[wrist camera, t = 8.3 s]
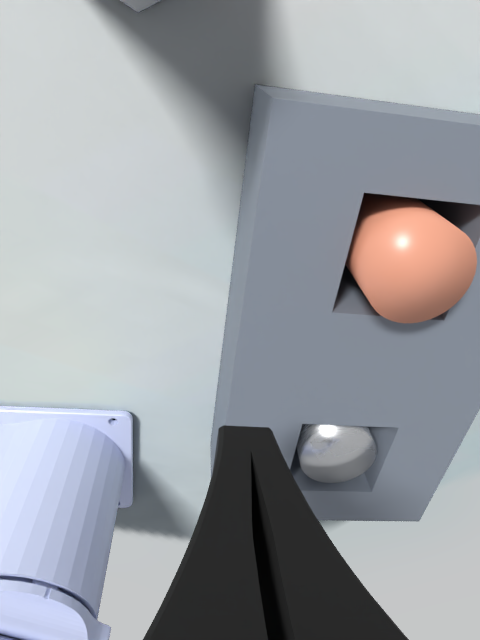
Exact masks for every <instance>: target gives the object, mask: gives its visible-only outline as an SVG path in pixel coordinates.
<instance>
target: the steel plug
mask: <svg viewBox="0 0 480 640" xmlns="http://www.w3.org/2000/svg"><path fill="white" fill-rule="evenodd" d="M296 448H297V452H298V457H299V461H300V465H301V468H302V470H303V472H304V473H305V474H306V475H307V476H308V477H310V478H311V479H313V480H316V481H319V482H324V483H338V482H344V481H347V480H350V479H353V478H355V477H357V476H359V475H361V474H362V473H364V472H365V471H366V470H367V469H368V468H369V467H370V466H371V465H372V464H373V462H374V460H375V458H376V454H377V448H376V444H375V442H374V440H373V438H372V435H371V433H370V431H369V428H368V426H343V425H317V424H302V427H301V431H300V434H299V438H298V442H297V446H296Z"/></svg>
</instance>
